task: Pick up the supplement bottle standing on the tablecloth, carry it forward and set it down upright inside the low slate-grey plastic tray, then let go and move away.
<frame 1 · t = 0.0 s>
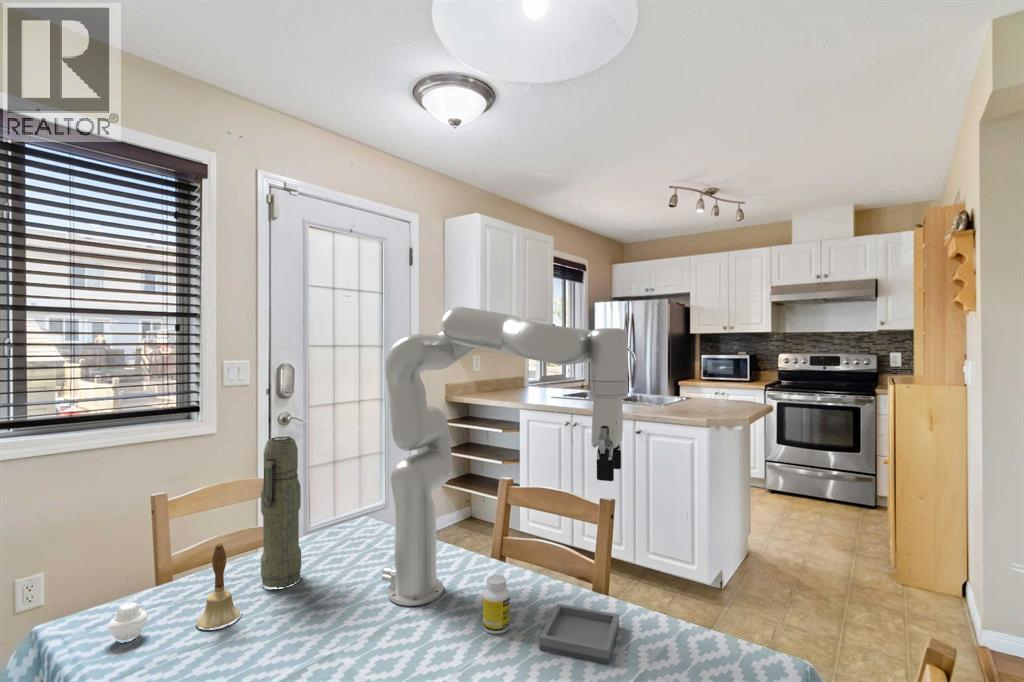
hand: (609, 474, 102), 31 cm above the table, tool pointing down, fingers open, 9 cm apart
hand bell: (219, 621, 106), on the table
white tiered dome: (128, 639, 100), on the table
tray: (580, 638, 99), on the table
thermos: (281, 582, 124), on the table
supplement bottle: (496, 628, 103), on the table
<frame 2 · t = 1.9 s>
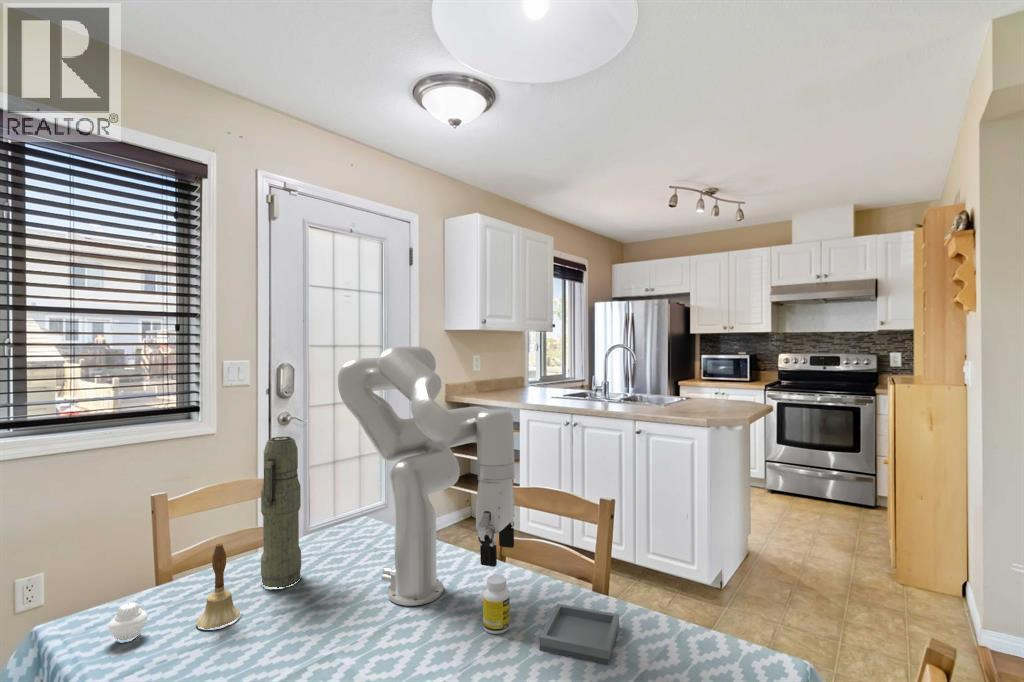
hand: (498, 555, 103), 15 cm above the table, tool pointing down, fingers open, 9 cm apart
nothing on the table moved.
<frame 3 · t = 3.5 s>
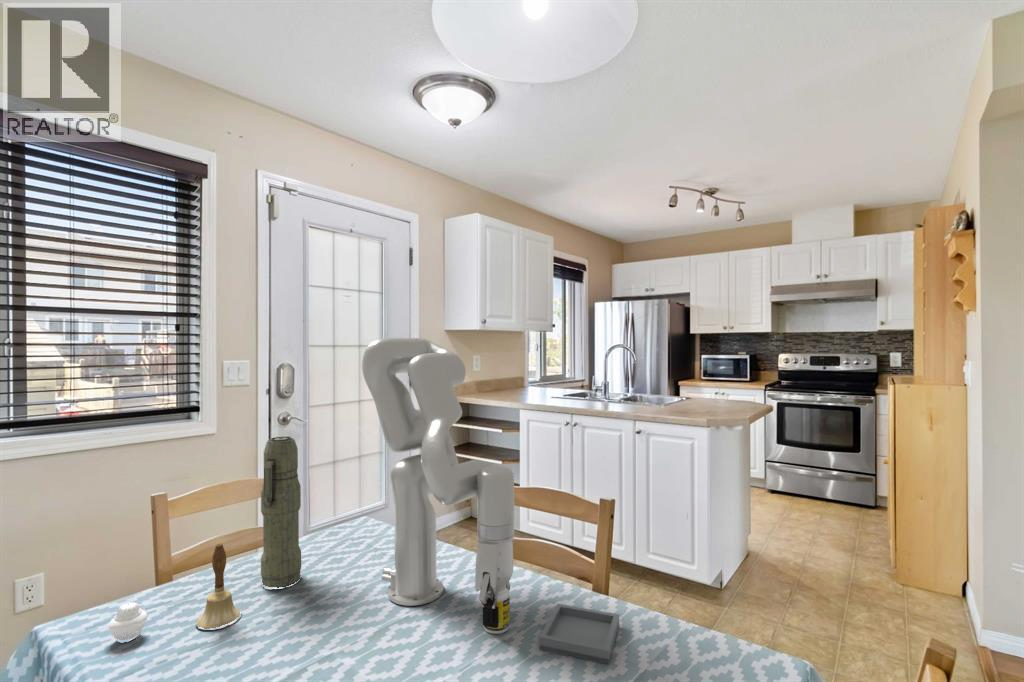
hand: (496, 617, 103), 2 cm above the table, tool pointing down, fingers closed on supplement bottle, 5 cm apart
supplement bottle: (496, 628, 103), on the table, touching gripper
everything else where it was.
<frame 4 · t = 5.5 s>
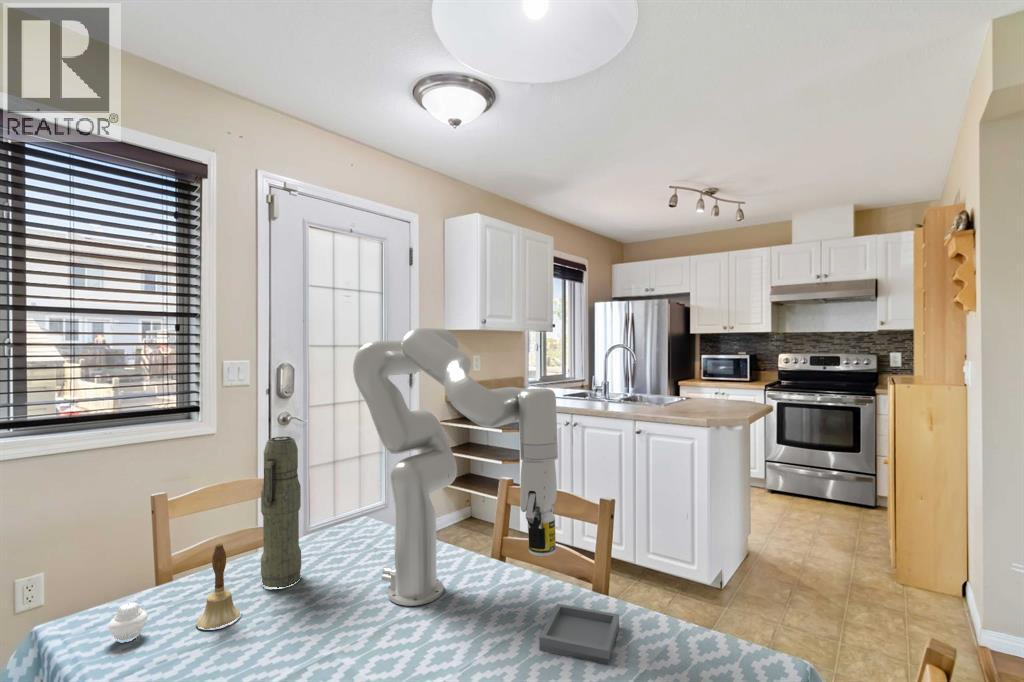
hand: (542, 541, 101), 18 cm above the table, tool pointing down, fingers closed on supplement bottle, 5 cm apart
supplement bottle: (542, 552, 100), point 16 cm above the table, touching gripper
everything else where it was.
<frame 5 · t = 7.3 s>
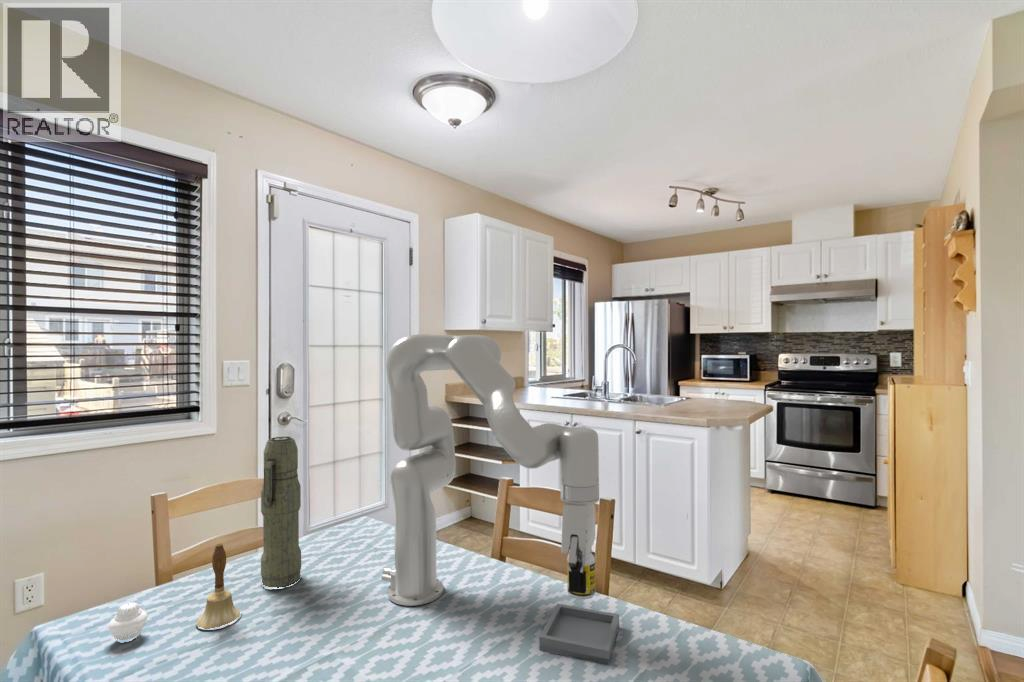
hand: (581, 583, 99), 11 cm above the table, tool pointing down, fingers closed on supplement bottle, 5 cm apart
supplement bottle: (581, 594, 99), point 8 cm above the table, touching gripper
everything else where it was.
when the fingers open (4 cm above the table, at t = 8.8 s): supplement bottle drops 1 cm, resting on tray.
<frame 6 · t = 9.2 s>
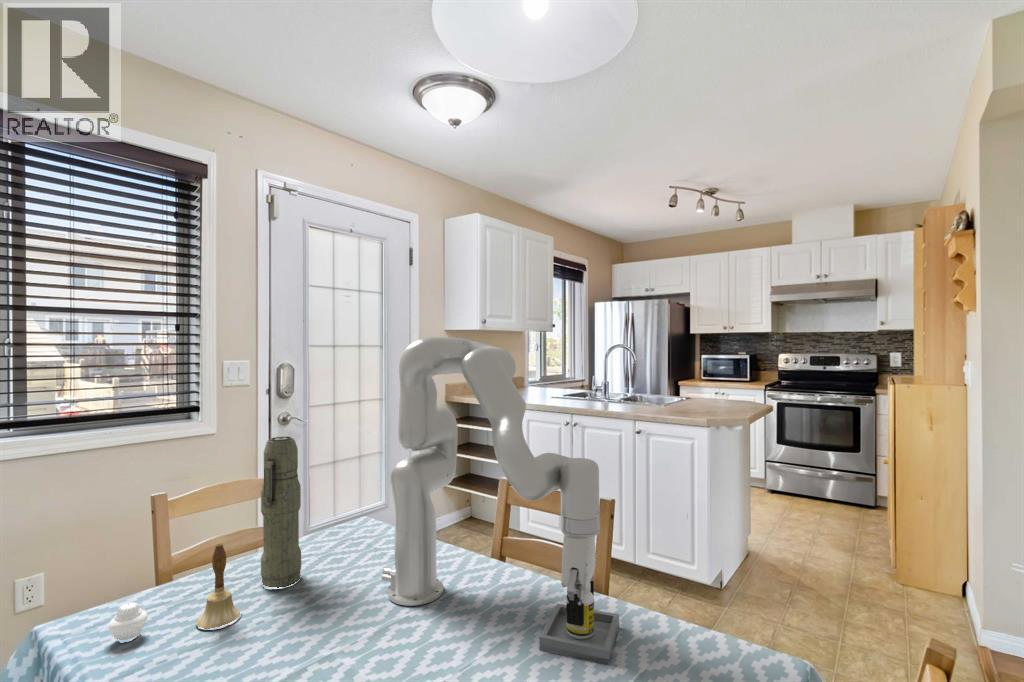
hand: (580, 611, 99), 5 cm above the table, tool pointing down, fingers open, 9 cm apart
supplement bottle: (580, 633, 99), point 1 cm above the table, touching tray
everything else where it was.
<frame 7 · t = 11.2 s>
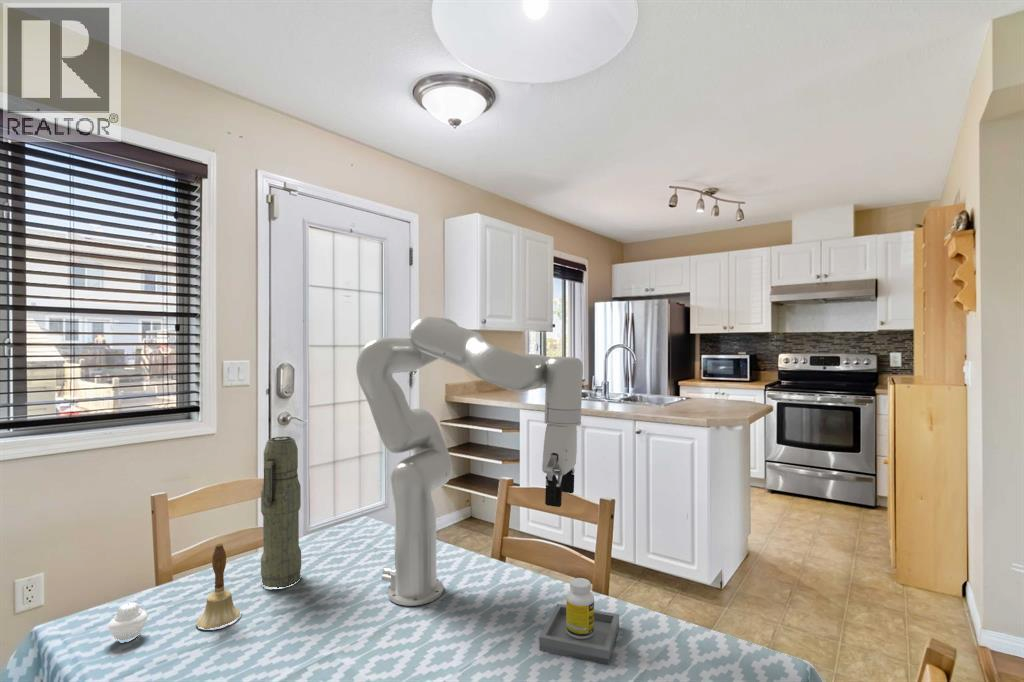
hand: (560, 498, 105), 25 cm above the table, tool pointing down, fingers open, 9 cm apart
nothing on the table moved.
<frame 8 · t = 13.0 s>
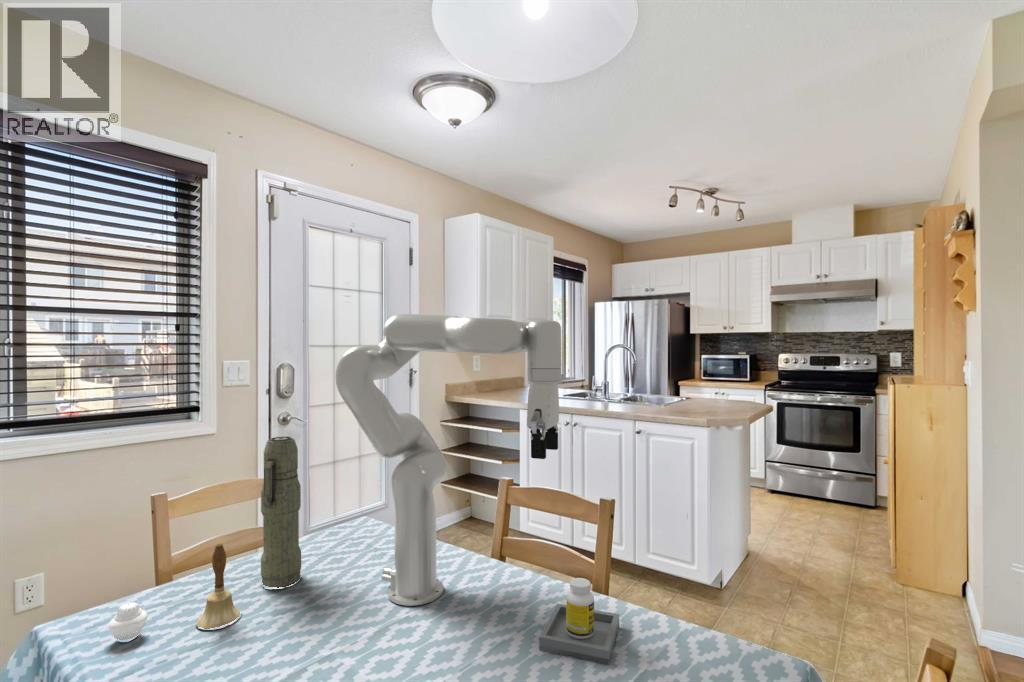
hand: (545, 453, 112), 33 cm above the table, tool pointing down, fingers open, 9 cm apart
nothing on the table moved.
at the end: supplement bottle inside the target area on the tray (0.2 cm from its centre), point 0.8 cm above the tray's base; supplement bottle tilted 0°; the gripper is holding nothing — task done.
